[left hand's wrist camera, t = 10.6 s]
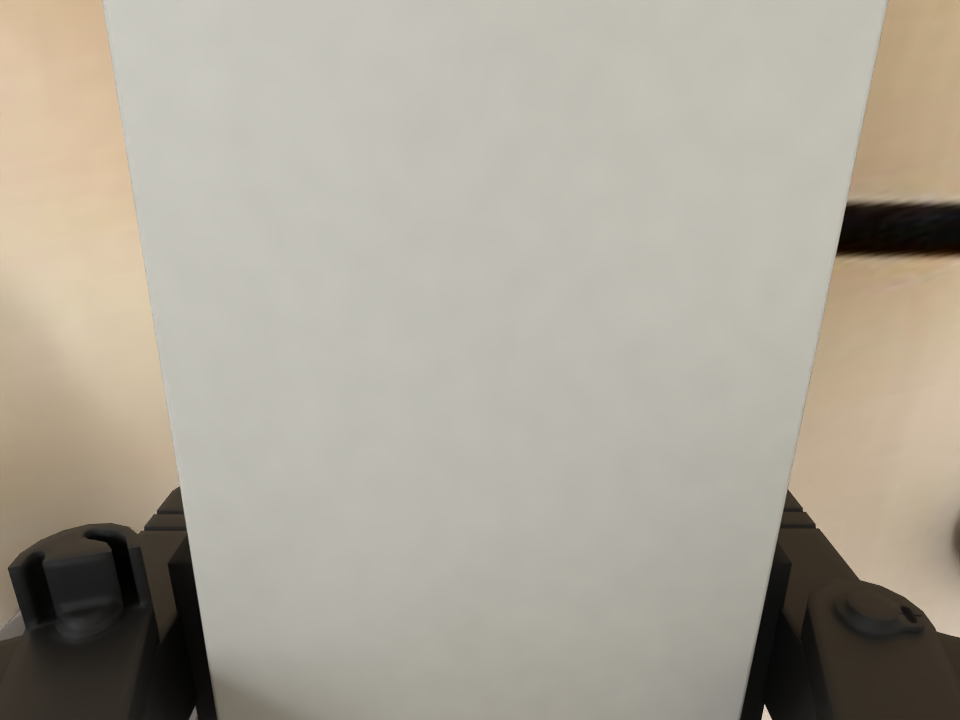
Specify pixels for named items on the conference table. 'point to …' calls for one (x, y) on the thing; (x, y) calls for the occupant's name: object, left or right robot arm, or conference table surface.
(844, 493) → the conference table surface
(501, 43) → the post
